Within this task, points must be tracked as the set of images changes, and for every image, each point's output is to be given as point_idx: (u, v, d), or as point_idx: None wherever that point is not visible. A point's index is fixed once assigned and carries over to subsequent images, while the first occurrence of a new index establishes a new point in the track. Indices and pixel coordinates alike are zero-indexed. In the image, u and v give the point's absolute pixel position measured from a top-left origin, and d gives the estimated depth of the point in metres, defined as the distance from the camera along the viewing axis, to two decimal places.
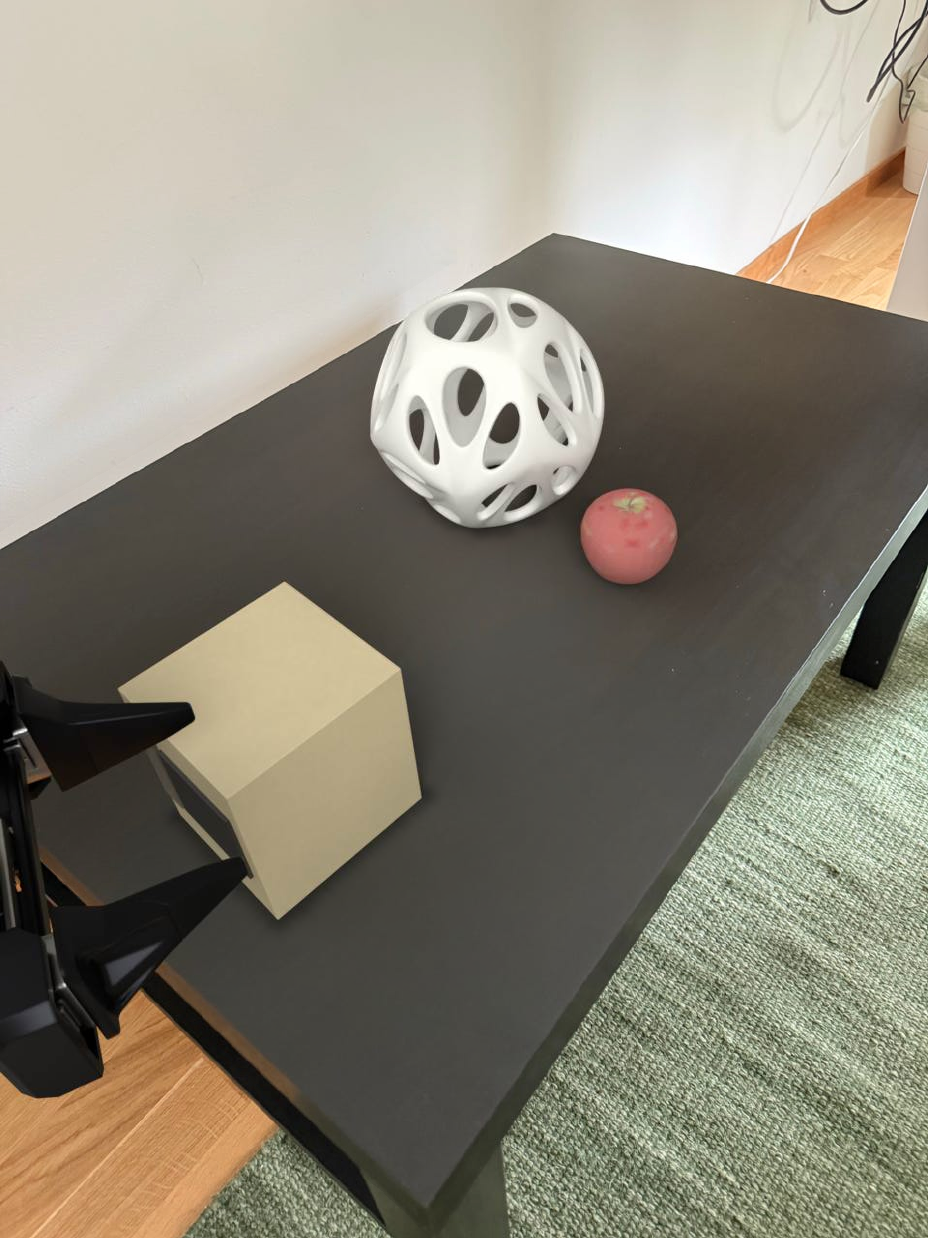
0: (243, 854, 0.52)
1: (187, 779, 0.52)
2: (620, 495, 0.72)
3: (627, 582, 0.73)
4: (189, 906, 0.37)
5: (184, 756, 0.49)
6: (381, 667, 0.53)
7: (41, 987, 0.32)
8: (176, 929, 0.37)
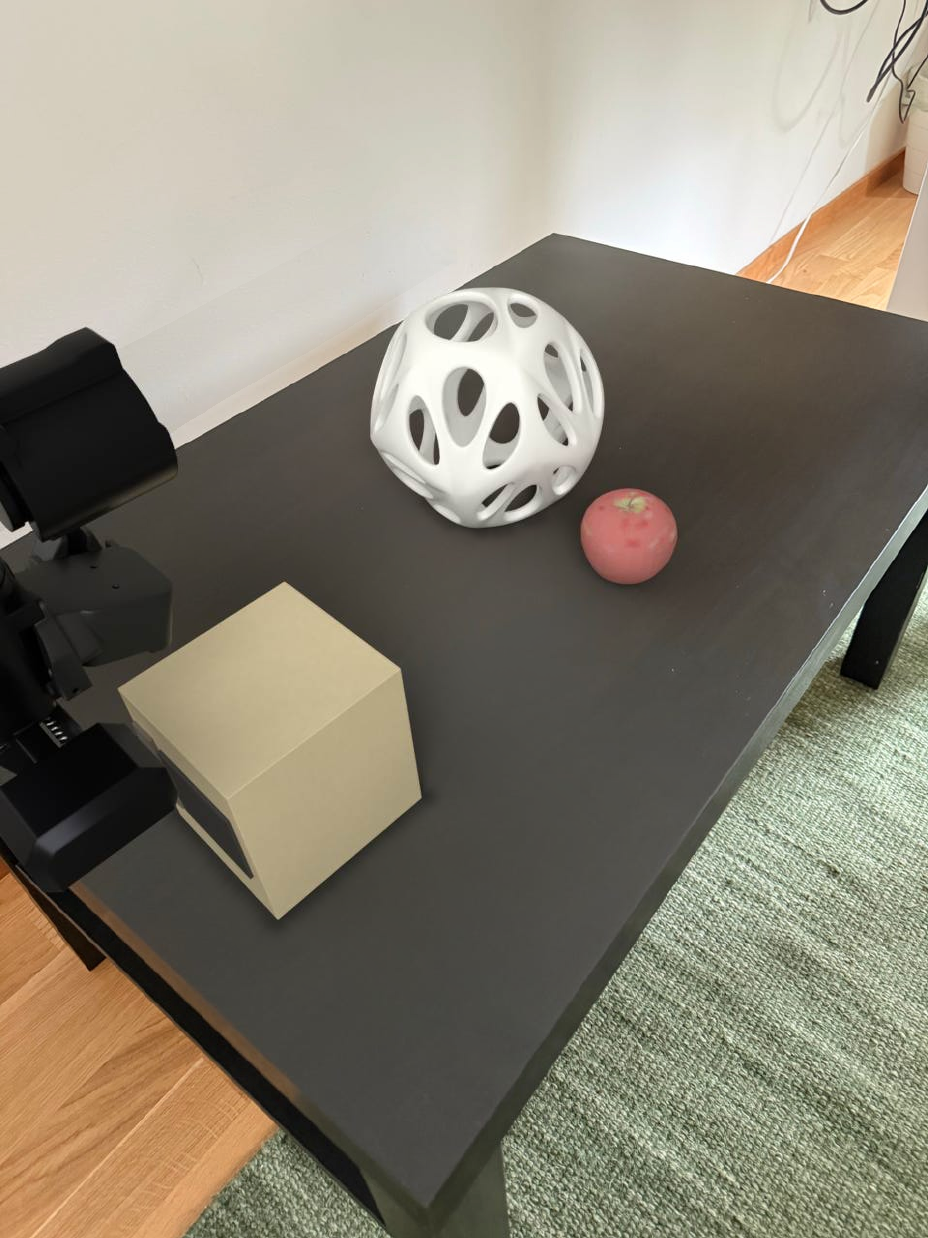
0: (243, 854, 0.52)
1: (187, 779, 0.52)
2: (621, 495, 0.72)
3: (627, 582, 0.73)
4: None
5: (184, 756, 0.49)
6: (381, 667, 0.53)
7: None
8: None
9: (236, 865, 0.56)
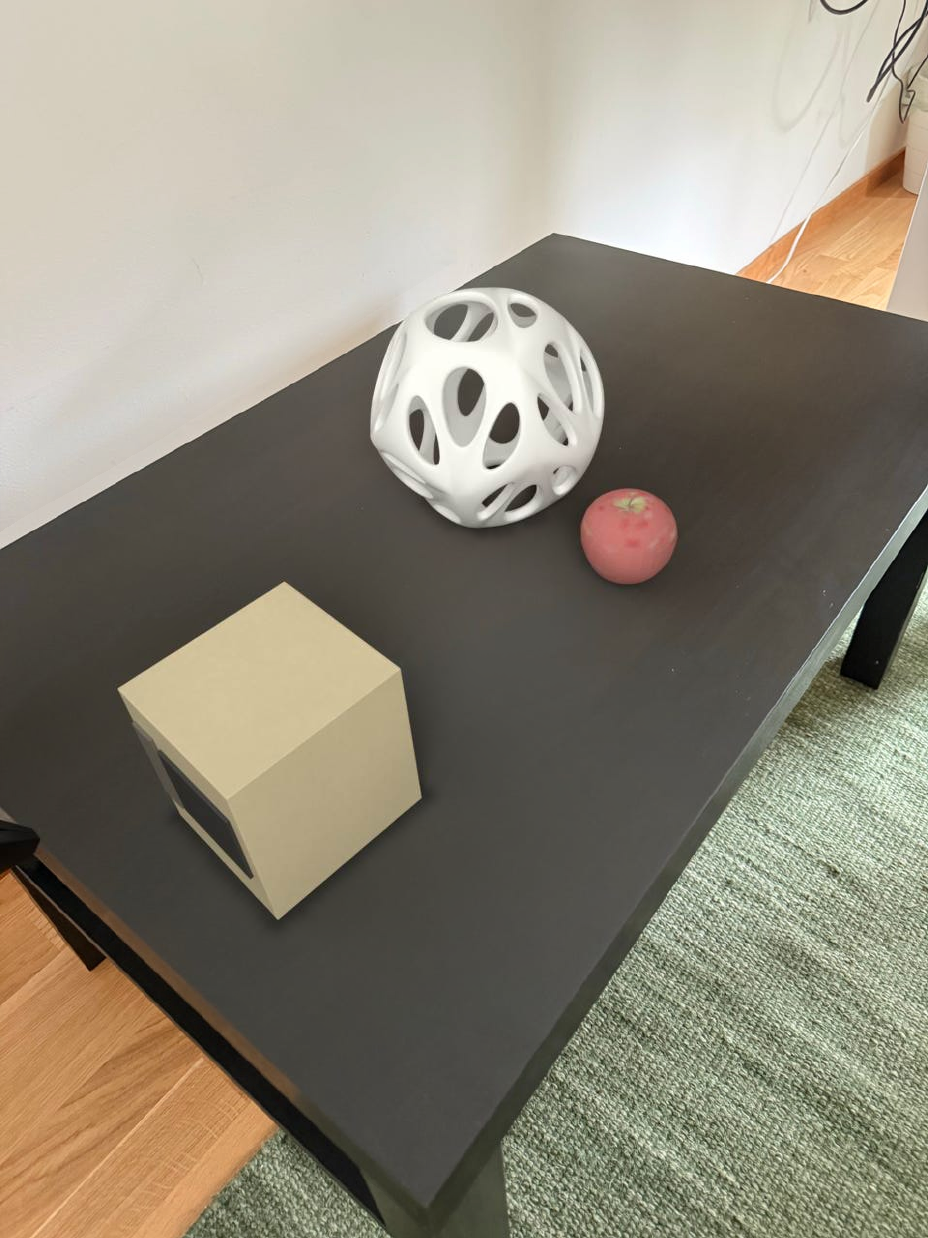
0: (243, 854, 0.52)
1: (187, 779, 0.52)
2: (620, 495, 0.72)
3: (627, 582, 0.73)
4: None
5: (184, 756, 0.49)
6: (381, 667, 0.53)
7: None
8: None
9: (236, 865, 0.56)
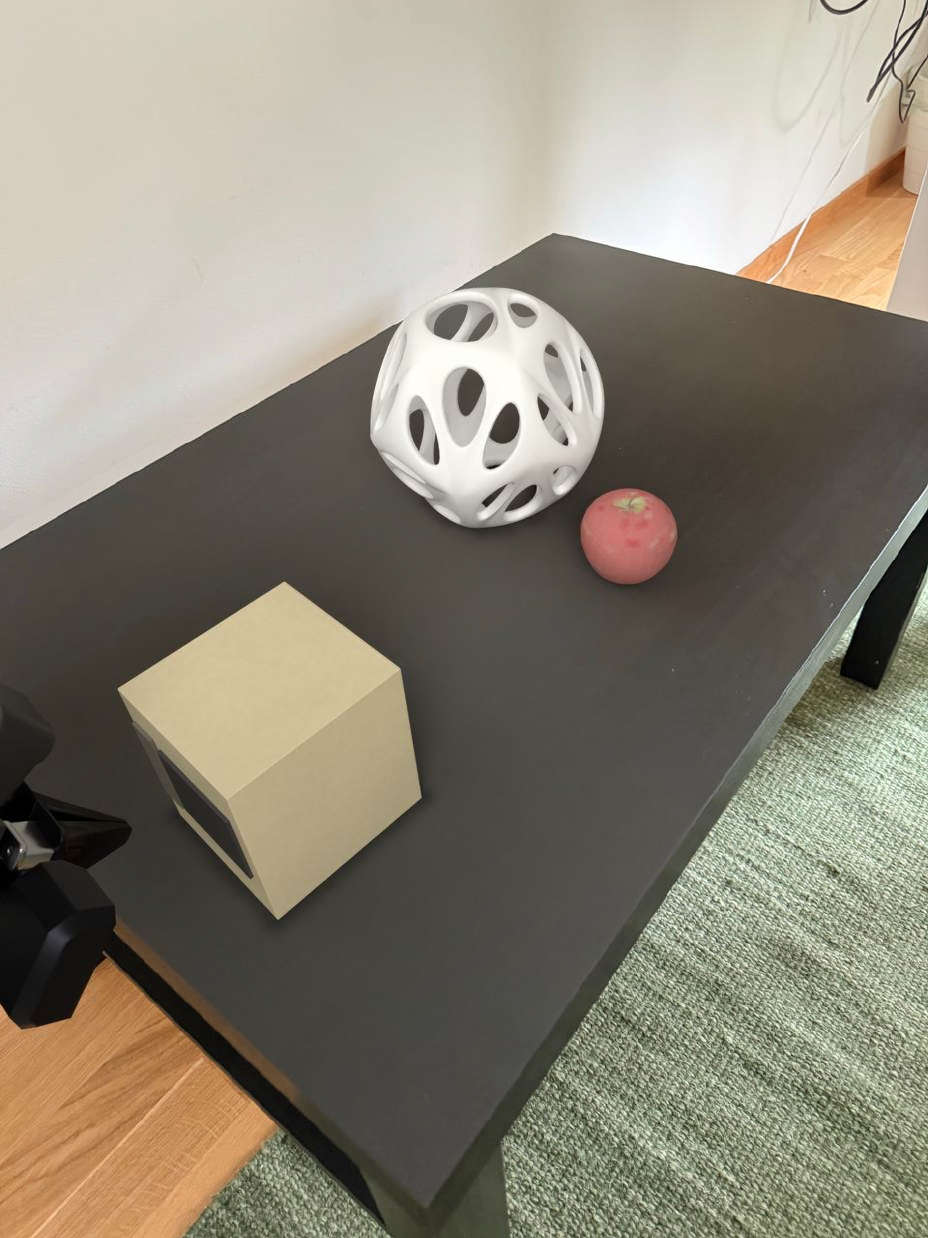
0: (243, 854, 0.52)
1: (187, 779, 0.52)
2: (620, 495, 0.72)
3: (627, 582, 0.73)
4: (97, 845, 0.48)
5: (184, 756, 0.49)
6: (381, 667, 0.53)
7: (103, 897, 0.40)
8: (80, 863, 0.48)
9: (236, 865, 0.56)
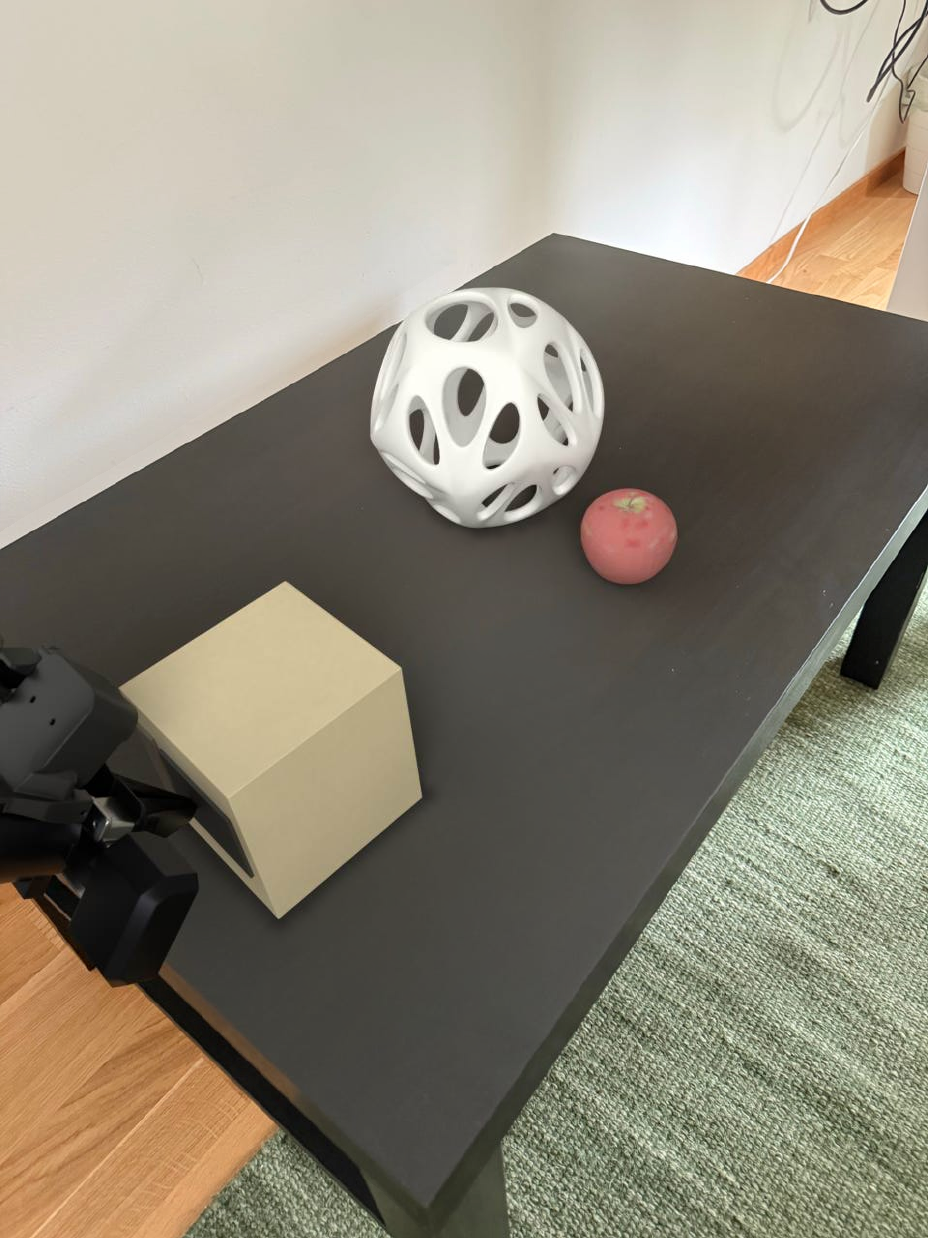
0: (244, 853, 0.52)
1: (188, 778, 0.52)
2: (620, 495, 0.72)
3: (627, 582, 0.73)
4: (167, 822, 0.52)
5: (185, 755, 0.49)
6: (382, 666, 0.53)
7: (186, 865, 0.43)
8: None
9: (237, 864, 0.56)
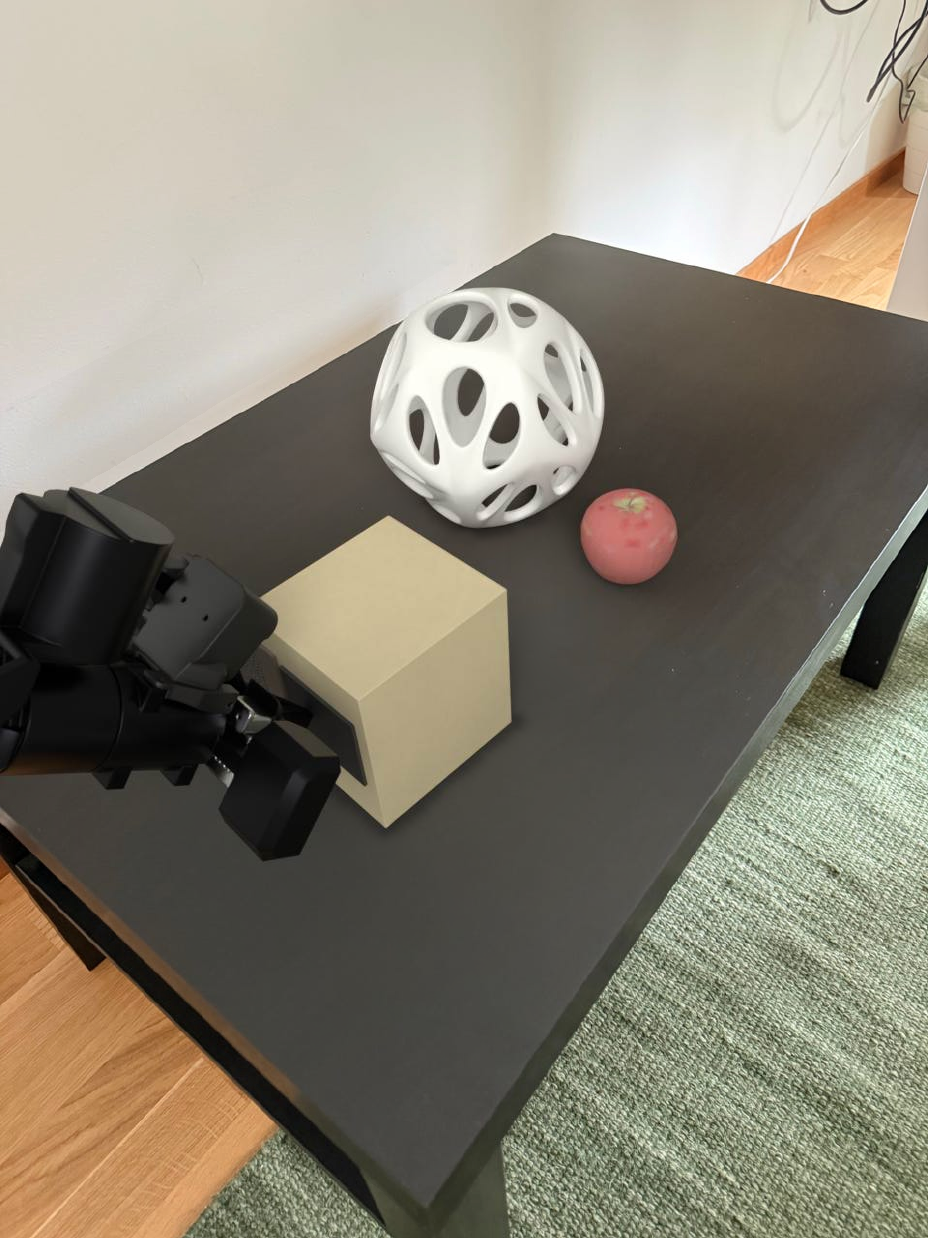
0: (361, 760, 0.56)
1: (310, 690, 0.56)
2: (620, 495, 0.72)
3: (627, 582, 0.73)
4: None
5: (313, 665, 0.53)
6: (488, 588, 0.57)
7: (328, 750, 0.47)
8: None
9: (346, 777, 0.60)
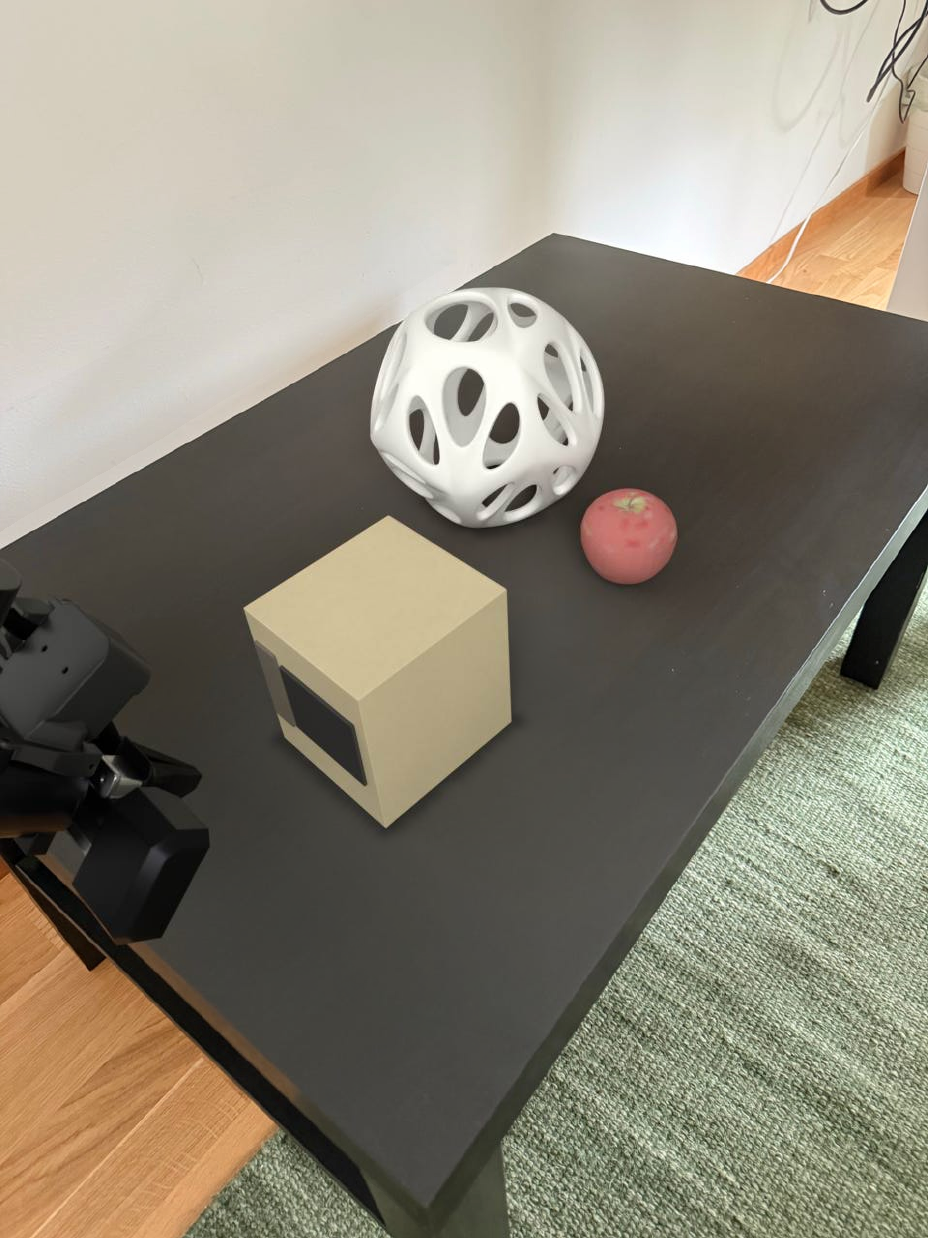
0: (361, 760, 0.56)
1: (310, 690, 0.56)
2: (620, 495, 0.72)
3: (627, 582, 0.73)
4: (173, 787, 0.50)
5: (313, 665, 0.53)
6: (488, 588, 0.57)
7: (197, 821, 0.42)
8: None
9: (346, 777, 0.60)
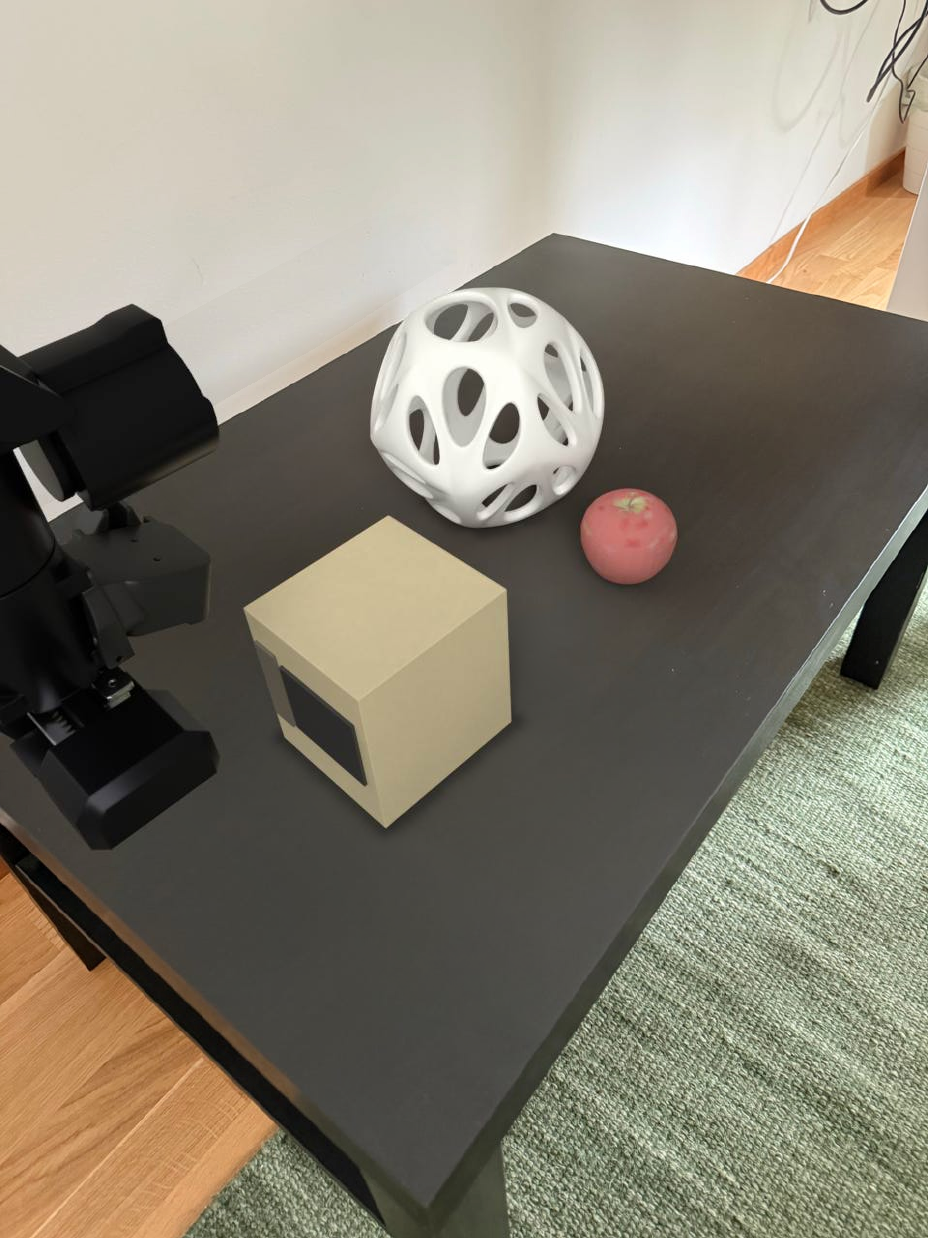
0: (361, 760, 0.56)
1: (310, 690, 0.56)
2: (620, 495, 0.72)
3: (627, 582, 0.73)
4: None
5: (313, 665, 0.53)
6: (488, 588, 0.57)
7: None
8: None
9: (346, 777, 0.60)
